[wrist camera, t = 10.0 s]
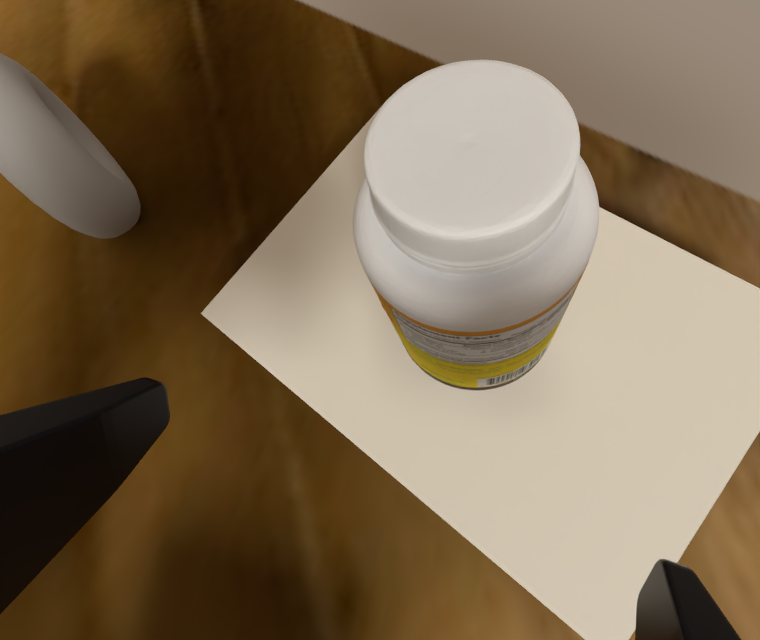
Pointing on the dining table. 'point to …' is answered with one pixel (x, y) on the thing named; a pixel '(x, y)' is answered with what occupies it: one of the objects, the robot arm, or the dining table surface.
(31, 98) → the donut
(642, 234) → the box
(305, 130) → the dining table surface
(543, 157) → the supplement bottle
